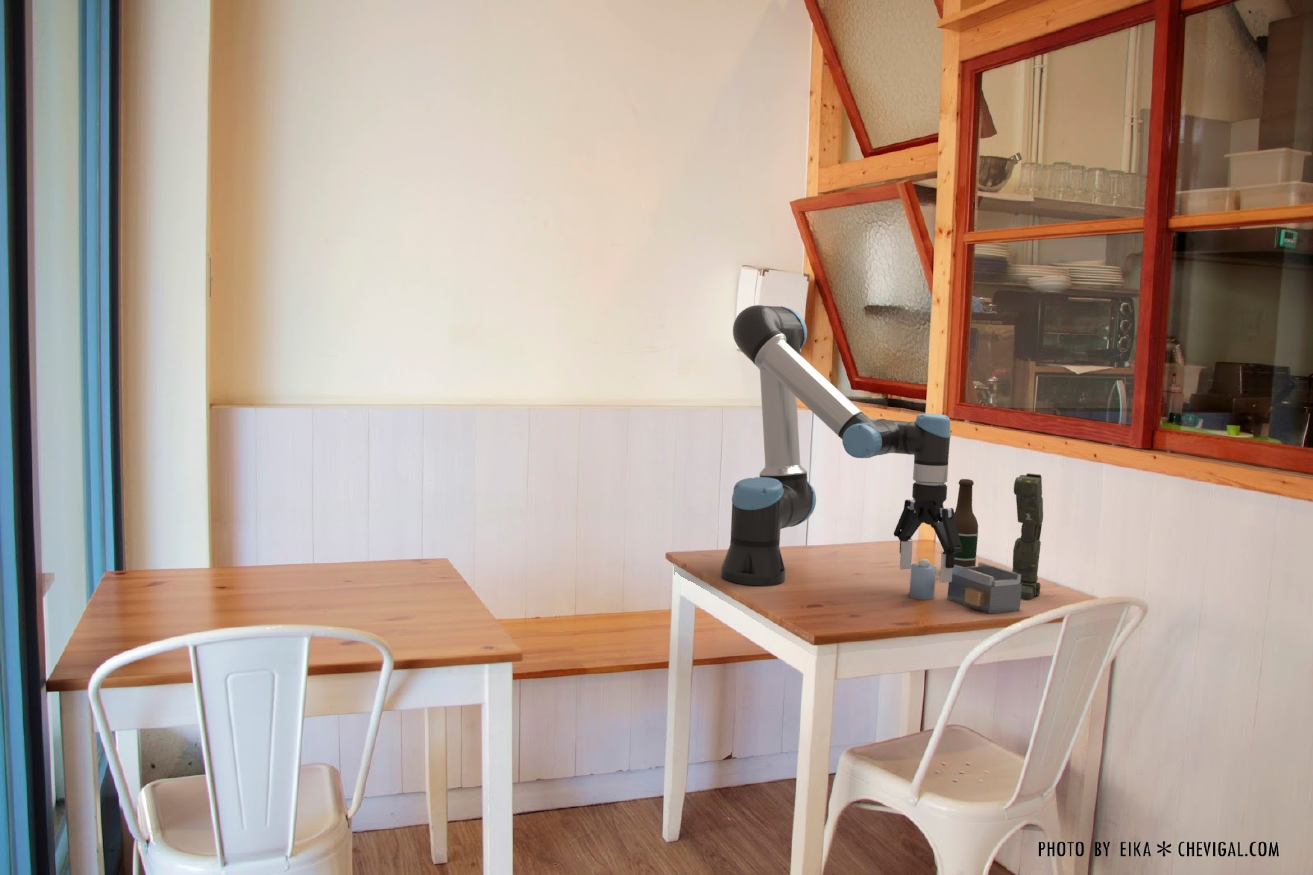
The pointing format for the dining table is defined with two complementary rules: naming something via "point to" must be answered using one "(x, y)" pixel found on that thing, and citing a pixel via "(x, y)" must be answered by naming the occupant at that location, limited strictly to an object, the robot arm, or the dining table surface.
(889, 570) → the dining table surface
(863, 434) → the robot arm
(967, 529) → the beer bottle
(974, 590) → the open grey metal box
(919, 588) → the light blue bottle
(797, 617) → the dining table surface
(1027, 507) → the mechanical leg
